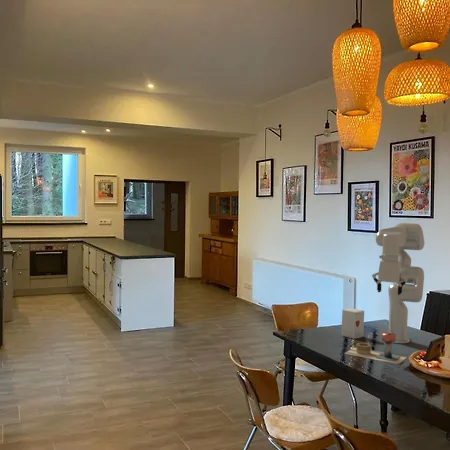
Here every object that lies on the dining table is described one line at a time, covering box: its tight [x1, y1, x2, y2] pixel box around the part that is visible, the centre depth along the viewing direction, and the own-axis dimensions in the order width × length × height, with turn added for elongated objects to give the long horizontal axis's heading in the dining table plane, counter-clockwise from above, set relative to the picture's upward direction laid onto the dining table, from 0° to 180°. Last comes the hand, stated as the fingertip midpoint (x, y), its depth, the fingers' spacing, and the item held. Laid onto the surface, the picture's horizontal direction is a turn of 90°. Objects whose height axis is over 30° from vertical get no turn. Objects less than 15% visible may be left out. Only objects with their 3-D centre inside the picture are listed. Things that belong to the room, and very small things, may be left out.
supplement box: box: [341, 307, 365, 339], centre depth 279 cm, size 9×9×15 cm
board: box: [344, 342, 408, 368], centre depth 238 cm, size 14×26×6 cm, turn 55°
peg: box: [381, 331, 396, 358], centre depth 235 cm, size 6×6×11 cm
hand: (389, 293), depth 243 cm, fingers open, 9 cm apart
